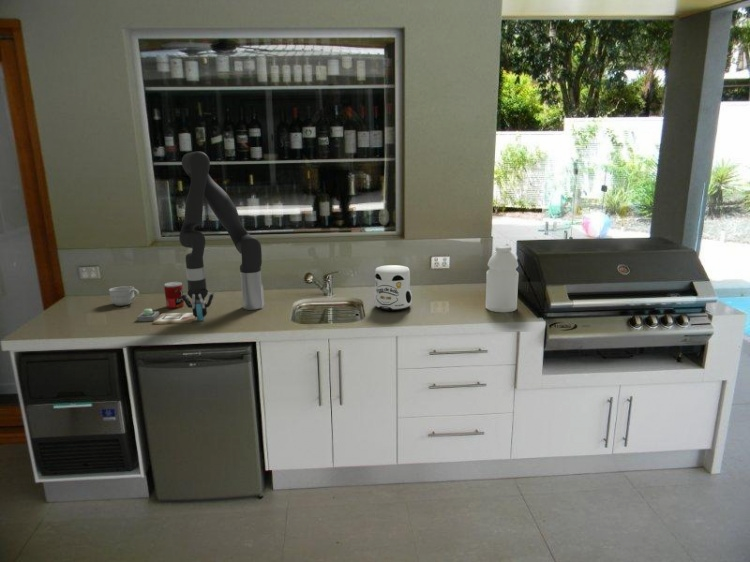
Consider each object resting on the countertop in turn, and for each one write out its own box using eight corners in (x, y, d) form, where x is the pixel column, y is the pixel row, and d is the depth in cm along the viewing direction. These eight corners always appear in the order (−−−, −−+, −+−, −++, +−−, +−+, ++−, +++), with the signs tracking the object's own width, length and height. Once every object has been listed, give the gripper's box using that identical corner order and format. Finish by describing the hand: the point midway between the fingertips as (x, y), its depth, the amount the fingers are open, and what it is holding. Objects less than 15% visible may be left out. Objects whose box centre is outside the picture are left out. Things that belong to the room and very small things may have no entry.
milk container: (378, 314, 243) (377, 274, 239) (370, 303, 260) (369, 265, 255) (416, 311, 247) (416, 272, 242) (406, 300, 263) (406, 263, 258)
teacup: (106, 306, 264) (103, 289, 262) (124, 299, 273) (121, 284, 271) (128, 309, 258) (126, 292, 256) (146, 302, 268) (144, 286, 266)
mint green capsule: (154, 314, 246) (153, 308, 245) (151, 317, 242) (150, 310, 242) (145, 315, 246) (144, 308, 245) (142, 317, 242) (142, 311, 241)
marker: (205, 318, 243) (203, 297, 240) (203, 320, 240) (201, 299, 237) (198, 318, 243) (195, 297, 240) (196, 320, 240) (193, 300, 237)
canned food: (178, 309, 257) (176, 286, 254) (163, 308, 258) (160, 285, 255) (187, 304, 264) (185, 281, 261) (172, 303, 265) (169, 281, 263)
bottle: (479, 308, 249) (480, 247, 242) (495, 301, 259) (497, 242, 251) (507, 315, 240) (509, 251, 232) (523, 307, 249) (526, 246, 242)
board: (198, 314, 249) (198, 311, 249) (191, 322, 237) (190, 320, 237) (162, 315, 248) (161, 312, 248) (153, 324, 237) (152, 321, 236)
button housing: (159, 315, 248) (159, 311, 247) (154, 320, 241) (153, 316, 241) (143, 316, 248) (143, 311, 247) (137, 321, 241) (137, 316, 240)
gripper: (215, 274, 240) (218, 313, 245) (182, 275, 240) (186, 314, 244) (210, 279, 233) (214, 318, 238) (176, 280, 233) (181, 319, 237)
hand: (200, 316), depth 241 cm, fingers closed on marker, 3 cm apart
